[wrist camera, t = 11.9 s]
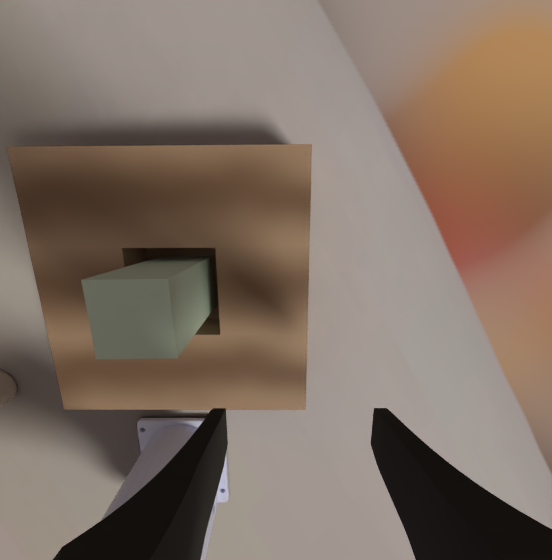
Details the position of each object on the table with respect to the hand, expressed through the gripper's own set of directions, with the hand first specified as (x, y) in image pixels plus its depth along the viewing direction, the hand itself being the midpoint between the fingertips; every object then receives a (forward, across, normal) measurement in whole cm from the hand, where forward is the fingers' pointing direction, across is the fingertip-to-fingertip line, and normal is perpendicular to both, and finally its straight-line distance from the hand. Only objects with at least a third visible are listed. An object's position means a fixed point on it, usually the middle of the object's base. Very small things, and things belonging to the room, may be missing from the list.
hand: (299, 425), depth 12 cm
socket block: (+10, +8, -5) cm, 14 cm away
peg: (+9, +8, -5) cm, 13 cm away
